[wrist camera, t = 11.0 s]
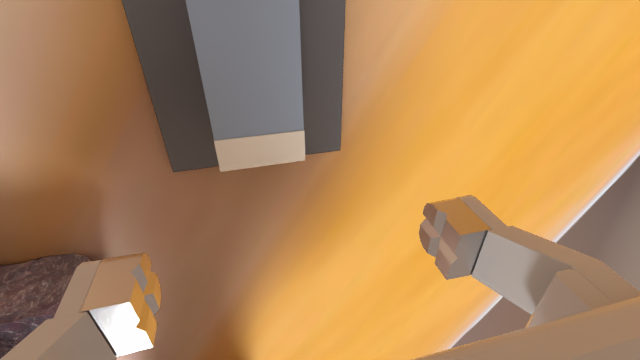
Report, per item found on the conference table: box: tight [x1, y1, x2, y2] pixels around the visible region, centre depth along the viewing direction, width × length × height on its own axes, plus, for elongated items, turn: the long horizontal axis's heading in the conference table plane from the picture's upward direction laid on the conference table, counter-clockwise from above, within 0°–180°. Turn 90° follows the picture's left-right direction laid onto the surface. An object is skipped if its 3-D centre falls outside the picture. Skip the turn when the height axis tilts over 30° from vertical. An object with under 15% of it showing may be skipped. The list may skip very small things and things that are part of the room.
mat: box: [122, 0, 345, 172], centre depth 24 cm, size 15×14×1 cm
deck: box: [186, 0, 305, 172], centre depth 22 cm, size 11×6×4 cm, turn 179°
